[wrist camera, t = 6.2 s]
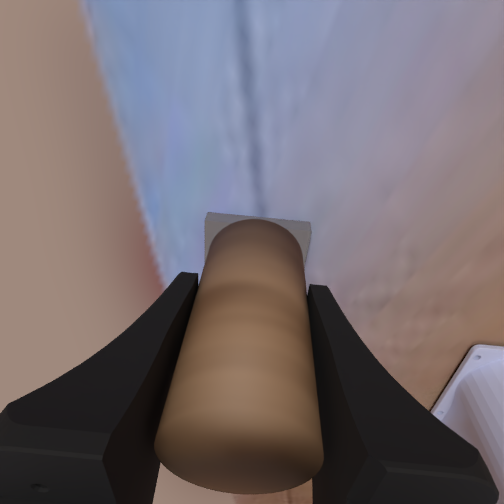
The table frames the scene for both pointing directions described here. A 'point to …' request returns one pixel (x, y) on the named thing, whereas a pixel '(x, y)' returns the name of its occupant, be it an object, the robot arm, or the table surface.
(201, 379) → the peg
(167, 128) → the table surface
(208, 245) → the tile
